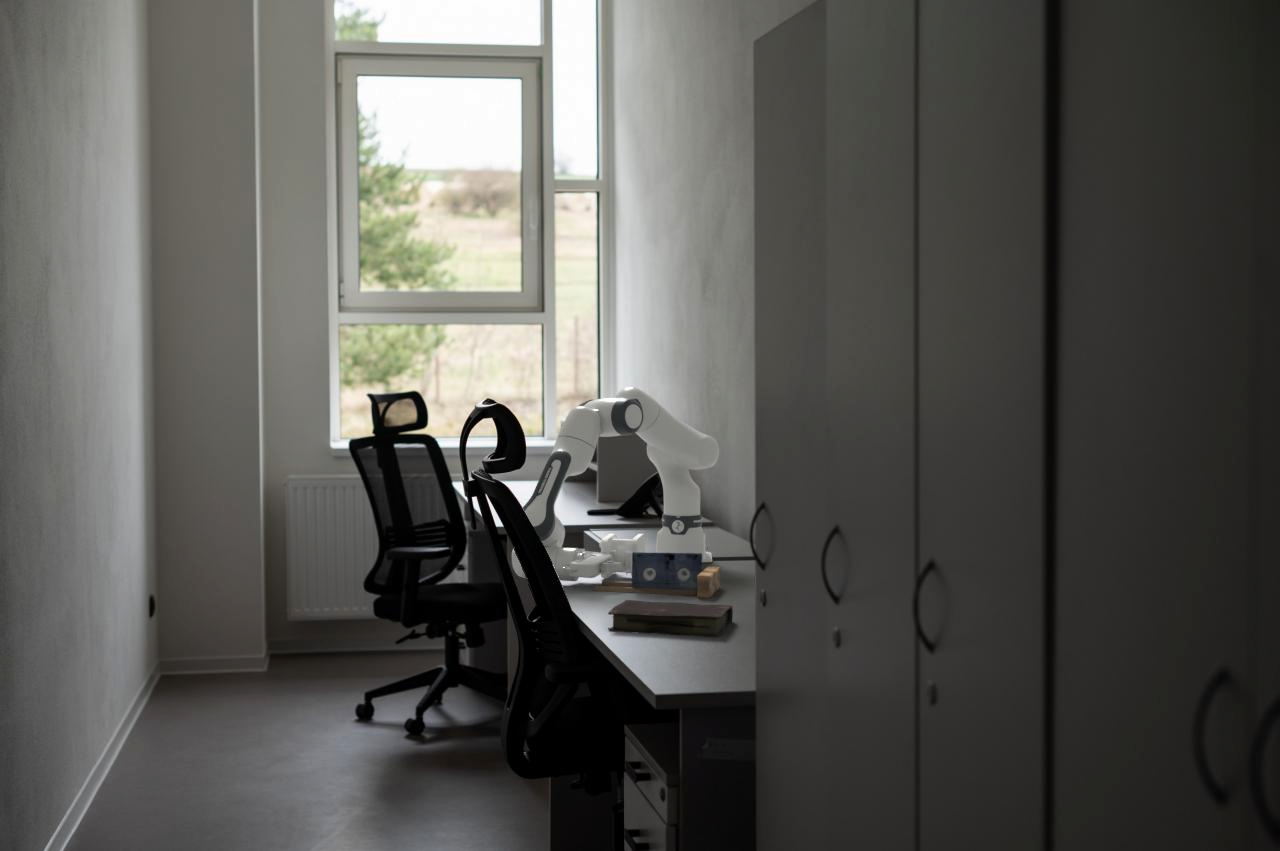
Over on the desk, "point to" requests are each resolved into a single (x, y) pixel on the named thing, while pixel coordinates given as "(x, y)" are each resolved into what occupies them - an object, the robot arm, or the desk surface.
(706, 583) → the guide track
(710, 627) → the diary
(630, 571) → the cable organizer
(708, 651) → the desk surface
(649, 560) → the vhs cassette tape
